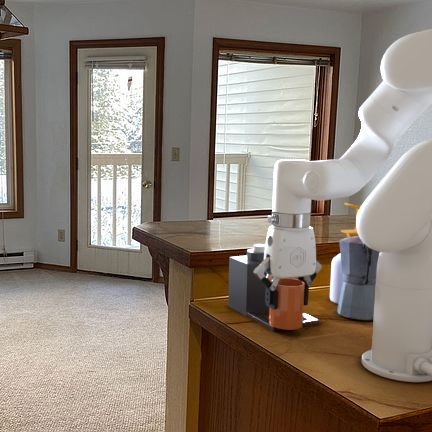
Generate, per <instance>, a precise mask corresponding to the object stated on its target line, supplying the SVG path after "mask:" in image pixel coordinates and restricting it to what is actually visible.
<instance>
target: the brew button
mask: <svg viewBox="0 0 432 432" xmlns="http://www.w3.org/2000/svg"><path fill="white" fill-rule="evenodd" d="M265 244H266V243H255V244H253V249H254V252H258V253H264V251H265Z"/></svg>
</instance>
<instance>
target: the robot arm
mask: <svg viewBox="0 0 432 432" xmlns="http://www.w3.org/2000/svg"><path fill="white" fill-rule="evenodd" d="M380 74H381V78H382V79H383V80H382V81H381V83H380V84H379V85H378V86H377V87H376V88H375V89H374V90H373V92H372V93H370V95H369V96H368V97H367V98H366V100H365V101H363V103H362V104H361V106H360V107H359V109H358V117H359V119H360V121H361V122H360V123H361V129H360V132H359V134H358V136H357V138H356V139H355V141H354V142H353V143H352V144H351V146H350V147H349V148H348V149H347V150H346V151H345V153H343V154H342V156H341V157H340V158H337V159H335V158H334V159H325V160H311V161H309V160H307V159H297V158H295V159H294V158H293V159H291V158H290V159H289V158H288V159H287V158H285V159H279V160H277V161H276V162H275V163H274V167H273V181H272V182H273V185H272V205H271V206H272V208H271V210H272V211H271V215H268V216H267V222H268V223H269V224H271V226H269V227H268V230H267V234H266V239H265V243H264V244H265V251H264V261H263V262H262V263H261V264H260V265H259V266H258V267H257V268H256V269H255V270H254V274H255V276H256V277H257V278H258V279H259V281H260V282H261V283H262V284H263V286H264V287H265V288H266V293H265V302H266V306H268V307H270V308H272V309H277V302H278V291H277V290H275V289H276V287H277V284H278V282H279V280H280V279H285V278H292V279H296V278H297V280H301V281H303V282H304V283H305V296H304V306H308V305H309V295H310V294H309V293H310V291H309V290H310V287H311V286H313V281H314V280H315V279H316V278H317V276H318V275H317V274H319V272H320V271H321V270H322V268H323V265H322V264H321V263H320V262H319V261H318V260H317V247H316V246H317V245H316V244H317V243H316V237H315V236H316V235H315V231H314V227H312V226H311V212H312V200H313V201H318V202H319V201H321V202H322V201H328V200H329V201H330V200H335V199H340V198H347V197H351V196H353V195H355V194H357V193H358V192H360V191H361V190H362V189H363V188H364V187H365V186H366V185H367V184H368V183H369V182H370V181H371V180H372V179H373V178H374V177H375V176H376V175H377V174H378V173H379V172H380V171H381V170H382V168H383V167H384V166H385V165H386V163H387V162H388V161H389V159H390V157H391V155H392V153H393V152H394V150H395V148H396V146H397V143H398V141H399V139H400V138H401V137H402V135H404V134H405V133H406V132H407V130H409V128H410V127H411V126H412V125H413V124H414V123H415V122H416V121H417V120H418V119H419V118H420V116H421V115H423V113H425V111H426V110H427V109H428V108H429V107H431V105H432V28H429V29H425V30H421V31H417V32H412V33H410V34H406V35H403V36H402V37H399V39H397V40H395V41H393V43H392V44H390V46H388V48H387V49H386V50H385V52H384V54H383V56H382V58H381V61H380ZM355 227H356V229H357V233H358V235H359V238H360V239H361V241H362V242H363V243H364V244H365V245H366V246H368V247H369V248H371V249H373V250H375V251H379V252H380V253H379V257H378V263H377V272H376V287H375V303H374V319H373V320H372V321H373V322H372V337H371V349H369V350H367V351H365V352H363V353H362V355H361V364H362V366H363V367H364V368H365V369H367V370H368V371H369V372H371V373H373V374H375V375H377V376H380V377H383V378H386V379H389V380H394V381H399V382H405V383H426V382H427V383H428V382H431V381H432V138H431V139H427V140H424V141H422V142H419V143H417V144H415V145H414V146H412V147H410V149H408V150H407V151H405V152H404V154H402V155H401V157H400V158H399V159H398V160H397V161H396V162H395V164H394V165H393V166H392V167H391V168H390V170H388V172H387V173H386V174H385V175H384V176H383V178H382V179H381V180H380V181H379V183H378V184H377V185H376V186H375V188H373V190H372V191H371V192H370V193H369V195H368V196H367V197H366V198H365V200H364V201H363V203H362V204H361V205H360V209H359V211H358V214H357V213H356V219H355ZM264 272H265V273H267V277H265V275H264ZM273 277H274V278H273ZM272 279H273V280H272ZM271 281H272V282H271Z"/></svg>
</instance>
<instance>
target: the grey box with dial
mask: <svg viewBox="0 0 432 432" xmlns="http://www.w3.org/2000/svg"><path fill="white" fill-rule="evenodd" d="M228 259H229V260H228V262H229V263H228V301H227V303H228V305H227V306H228V308H230V309H233V310H234V311H236V312H238V313H239V314H241V315H243V316H245V317H247V316H246V312H253V311H254V312H256V313H258V314H260V315H264V314H269V307H268V306H266V302H265V293H266V288H265V287H264V286H263V284H262V283H261V282H260V281H259V279H258V278H257V277H256V276H255V274H254V270H255V269H256V268H257V267H258V266H259V265H260V264H261V263H262V262H263V261H264V253H258V252H254V248H249V249H247V250H246V255H239V256H238V255H237V256H229V258H228ZM264 275H265V277H267V273H265V272H264ZM273 278H274V277H273Z"/></svg>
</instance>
